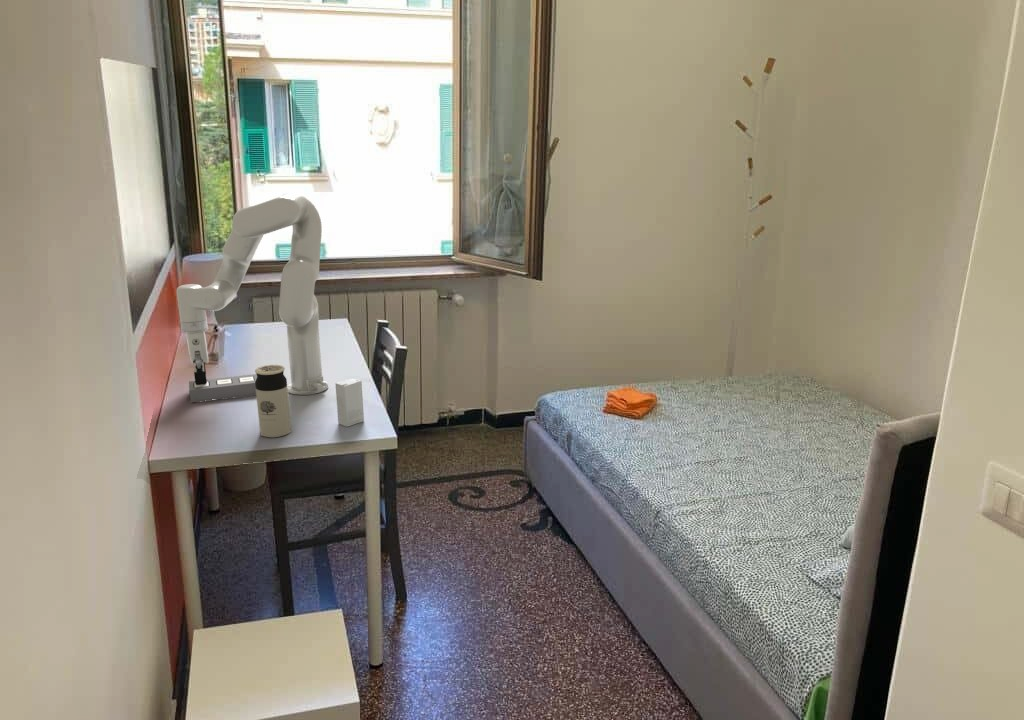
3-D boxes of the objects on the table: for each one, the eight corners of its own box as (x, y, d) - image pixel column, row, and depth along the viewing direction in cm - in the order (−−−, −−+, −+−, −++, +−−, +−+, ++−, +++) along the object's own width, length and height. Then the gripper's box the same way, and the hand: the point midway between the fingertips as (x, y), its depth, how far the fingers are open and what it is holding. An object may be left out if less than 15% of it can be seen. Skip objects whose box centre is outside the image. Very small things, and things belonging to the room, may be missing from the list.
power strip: (262, 385, 247) (261, 373, 246) (265, 394, 239) (263, 381, 238) (190, 393, 239) (189, 381, 238) (190, 403, 231) (189, 390, 230)
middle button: (231, 386, 241) (230, 378, 240) (232, 390, 237) (231, 382, 236) (218, 388, 239) (217, 380, 239) (218, 392, 236) (217, 384, 235)
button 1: (209, 389, 238) (208, 381, 238) (209, 393, 235) (208, 385, 234) (195, 391, 237) (194, 383, 236) (195, 395, 233) (194, 387, 233)
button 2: (253, 384, 243) (252, 376, 242) (254, 388, 239) (253, 380, 239) (240, 385, 242) (239, 377, 241) (241, 389, 238) (240, 381, 237)
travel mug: (273, 425, 214) (267, 363, 209) (297, 429, 211) (291, 366, 206) (254, 435, 207) (247, 371, 202) (278, 440, 204) (272, 374, 199)
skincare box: (355, 417, 219) (352, 377, 216) (365, 421, 217) (362, 380, 213) (337, 424, 215) (334, 382, 211) (347, 428, 212) (344, 385, 209)
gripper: (208, 331, 228) (214, 386, 233) (206, 318, 244) (213, 370, 248) (180, 333, 225) (187, 389, 230) (180, 320, 241) (187, 372, 246)
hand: (200, 379), depth 239 cm, fingers open, 9 cm apart
